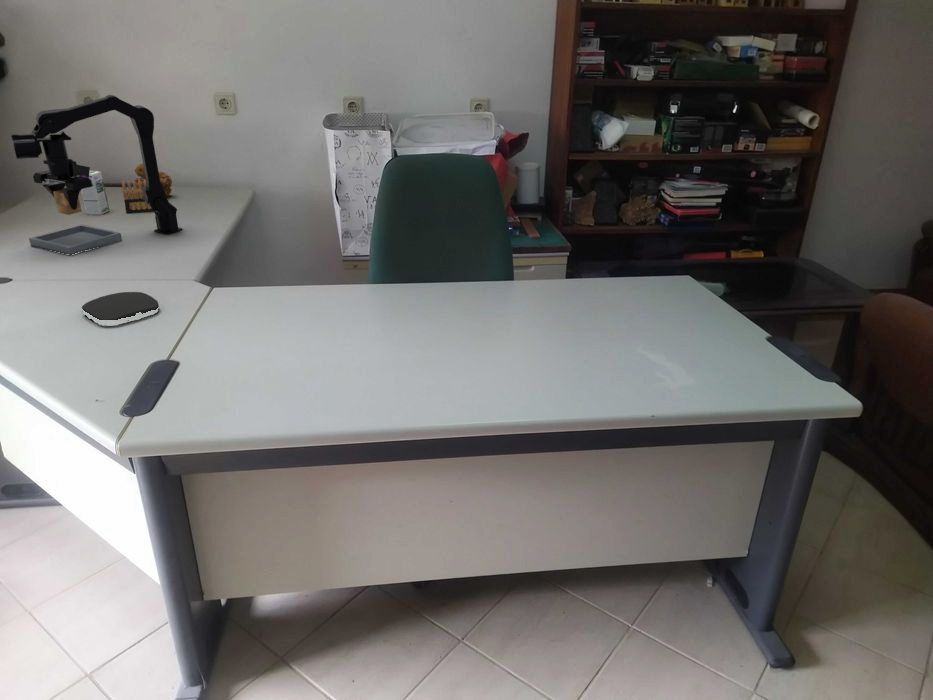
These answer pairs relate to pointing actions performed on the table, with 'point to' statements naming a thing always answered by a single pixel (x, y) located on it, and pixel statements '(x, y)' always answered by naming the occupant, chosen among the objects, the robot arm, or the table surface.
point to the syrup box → (95, 195)
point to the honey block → (65, 204)
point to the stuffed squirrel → (163, 176)
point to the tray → (75, 239)
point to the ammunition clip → (135, 198)
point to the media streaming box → (120, 305)
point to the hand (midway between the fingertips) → (69, 208)
